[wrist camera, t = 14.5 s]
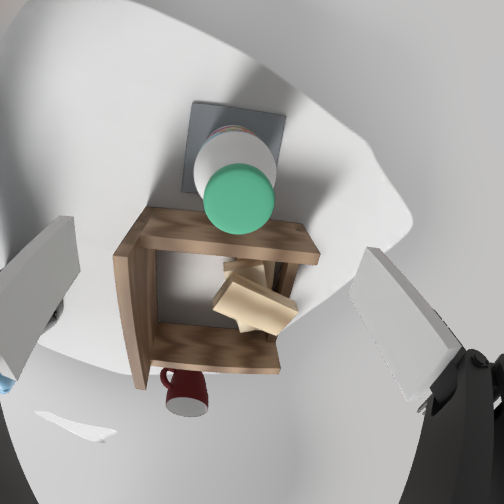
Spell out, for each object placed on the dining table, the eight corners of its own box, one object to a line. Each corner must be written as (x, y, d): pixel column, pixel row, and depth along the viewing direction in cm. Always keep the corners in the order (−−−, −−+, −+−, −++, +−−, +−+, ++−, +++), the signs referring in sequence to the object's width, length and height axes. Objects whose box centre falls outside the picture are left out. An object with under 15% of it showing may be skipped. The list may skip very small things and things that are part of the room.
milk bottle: (255, 186, 37) (284, 263, 20) (198, 177, 36) (173, 250, 19) (267, 130, 34) (313, 155, 16) (207, 120, 32) (185, 133, 15)
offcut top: (274, 325, 44) (276, 335, 42) (213, 298, 41) (212, 309, 39) (295, 301, 42) (298, 312, 40) (232, 271, 39) (232, 281, 37)
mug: (153, 364, 53) (146, 403, 45) (172, 345, 51) (166, 386, 42) (195, 383, 57) (193, 420, 49) (216, 366, 55) (216, 406, 46)
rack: (150, 326, 48) (135, 388, 36) (146, 206, 38) (112, 255, 25) (271, 336, 52) (283, 398, 40) (302, 223, 41) (334, 277, 29)
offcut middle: (239, 322, 47) (240, 332, 45) (223, 262, 41) (223, 272, 39) (271, 316, 47) (273, 326, 45) (261, 255, 41) (263, 264, 39)
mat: (182, 191, 37) (181, 191, 37) (192, 103, 32) (192, 103, 31) (269, 201, 39) (269, 202, 39) (285, 116, 33) (286, 116, 33)
